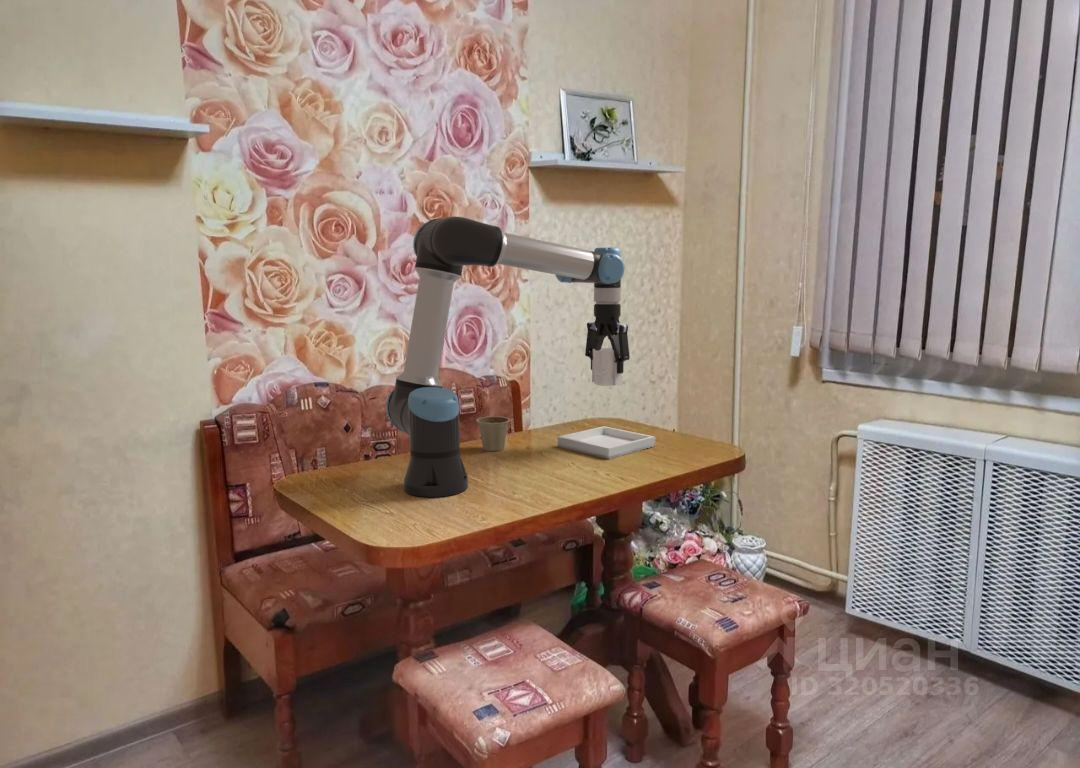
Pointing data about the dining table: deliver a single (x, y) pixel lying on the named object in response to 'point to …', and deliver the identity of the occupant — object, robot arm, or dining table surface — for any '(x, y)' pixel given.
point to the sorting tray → (606, 442)
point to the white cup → (603, 366)
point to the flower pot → (493, 432)
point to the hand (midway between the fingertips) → (606, 383)
